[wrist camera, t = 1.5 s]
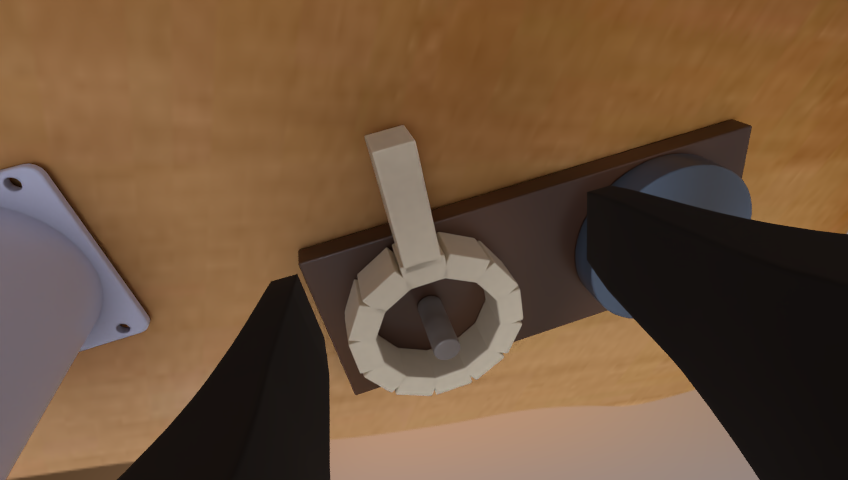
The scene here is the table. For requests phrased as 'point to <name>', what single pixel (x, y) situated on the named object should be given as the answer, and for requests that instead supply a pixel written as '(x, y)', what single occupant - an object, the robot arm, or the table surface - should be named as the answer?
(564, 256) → the rack
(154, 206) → the table surface
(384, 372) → the ring
